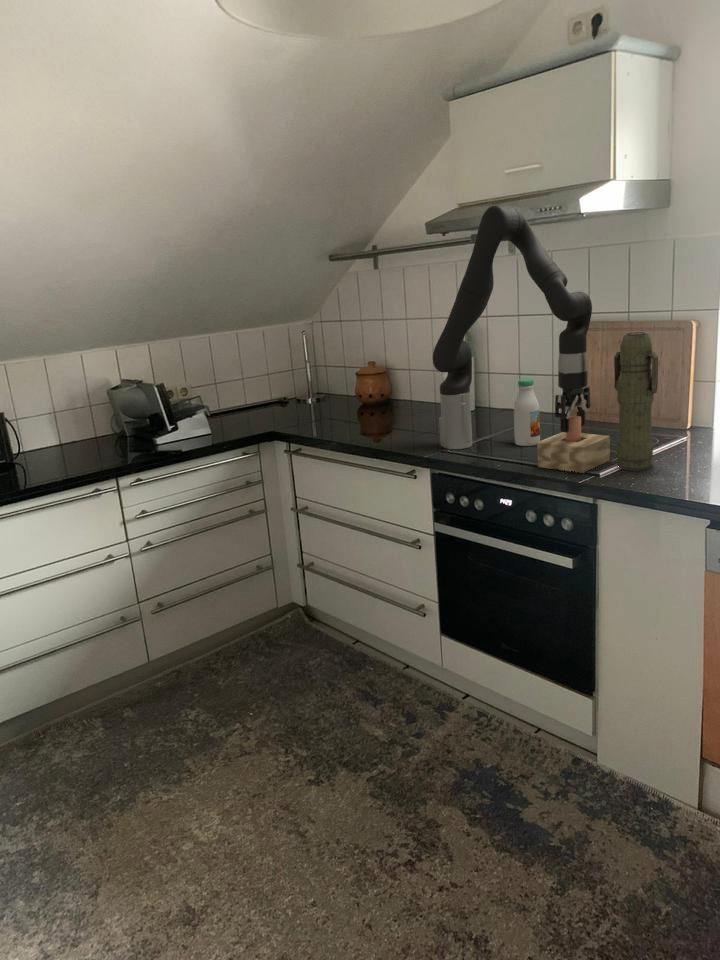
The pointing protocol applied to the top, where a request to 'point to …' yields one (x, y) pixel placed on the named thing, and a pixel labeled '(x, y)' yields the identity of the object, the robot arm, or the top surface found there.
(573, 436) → the dowel pin
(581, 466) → the bore block
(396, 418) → the top surface
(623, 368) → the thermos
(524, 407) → the milk bottle
